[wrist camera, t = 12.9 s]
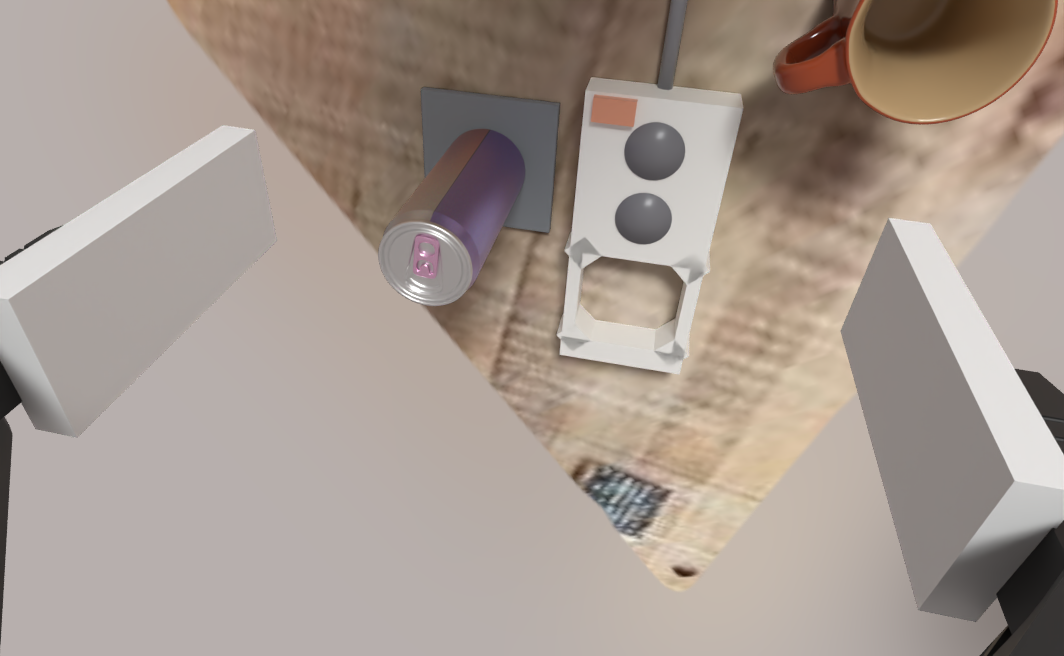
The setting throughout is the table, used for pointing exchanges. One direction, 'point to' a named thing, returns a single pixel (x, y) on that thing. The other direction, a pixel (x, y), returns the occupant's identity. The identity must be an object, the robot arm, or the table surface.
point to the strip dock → (647, 200)
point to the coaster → (515, 119)
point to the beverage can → (452, 219)
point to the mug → (920, 54)
